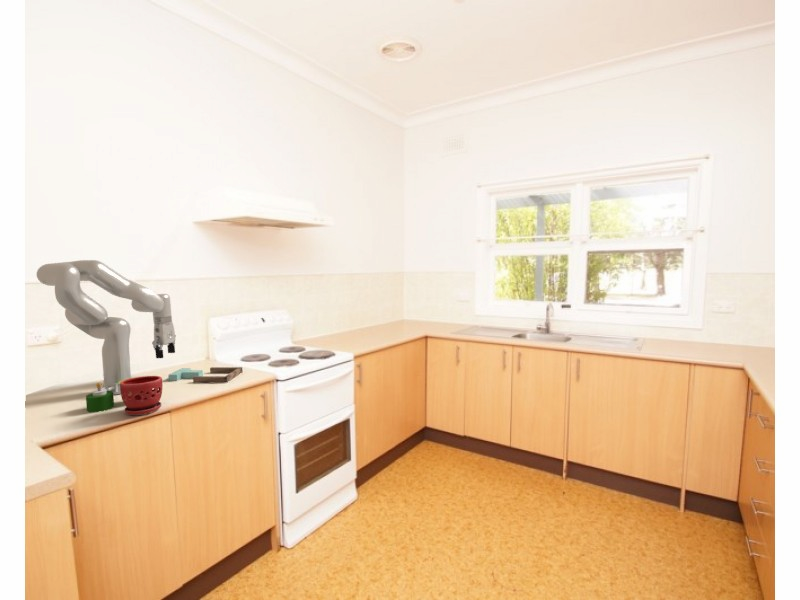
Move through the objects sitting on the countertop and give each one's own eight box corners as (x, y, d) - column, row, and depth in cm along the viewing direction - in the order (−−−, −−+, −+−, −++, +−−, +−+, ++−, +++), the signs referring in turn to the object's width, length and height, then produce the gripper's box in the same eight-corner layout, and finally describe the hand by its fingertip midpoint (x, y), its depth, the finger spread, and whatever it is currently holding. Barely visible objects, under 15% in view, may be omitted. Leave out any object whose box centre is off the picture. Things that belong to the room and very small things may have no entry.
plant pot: (171, 407, 154) (170, 376, 153) (138, 419, 142) (136, 386, 141) (147, 403, 159) (146, 373, 158) (113, 414, 147) (111, 382, 146)
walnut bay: (227, 382, 186) (226, 377, 186) (193, 382, 186) (193, 377, 186) (242, 372, 204) (242, 367, 204) (211, 372, 204) (211, 367, 204)
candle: (101, 412, 149) (100, 385, 148) (81, 412, 150) (79, 385, 149) (119, 404, 157) (117, 379, 156) (99, 404, 158) (97, 379, 157)
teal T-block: (194, 380, 189) (194, 374, 189) (168, 381, 189) (168, 374, 189) (206, 374, 201) (206, 368, 201) (182, 374, 201) (182, 368, 201)
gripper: (159, 323, 184) (163, 360, 186) (180, 317, 202) (183, 350, 204) (143, 323, 184) (146, 360, 187) (165, 317, 202) (168, 351, 204)
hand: (165, 355), depth 195 cm, fingers open, 9 cm apart
